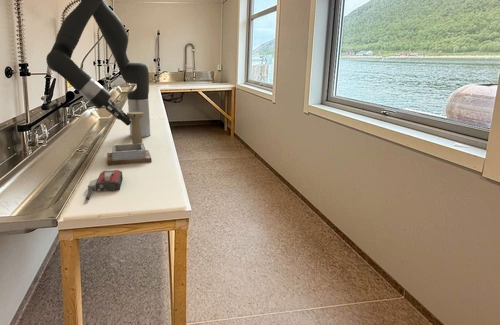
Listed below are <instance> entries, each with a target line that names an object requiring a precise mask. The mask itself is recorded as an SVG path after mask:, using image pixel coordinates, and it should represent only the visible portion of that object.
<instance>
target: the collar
mask: <svg viewBox="0 0 500 325" xmlns="http://www.w3.org/2000/svg"><path fill="white" fill-rule="evenodd" d="M146 150H147V149H146V147H145V145H144V143H143V142H142V143H137V144H133V143H125V144H124V143H123V144H112V145H111V153H112V158H113V161H117V160H131V159H144V158H146Z"/></svg>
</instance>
